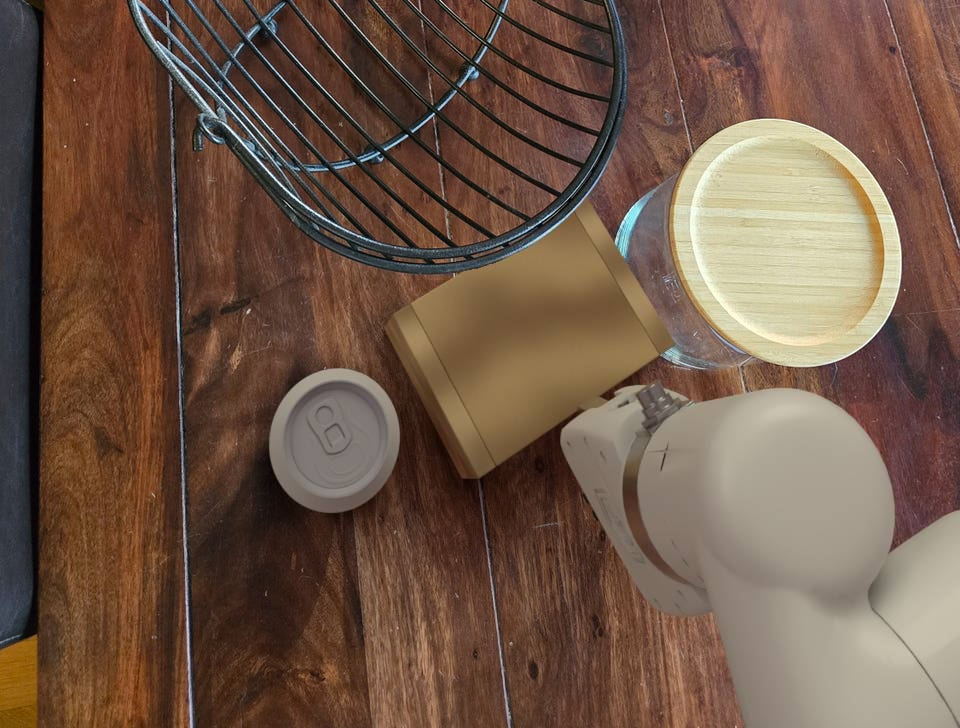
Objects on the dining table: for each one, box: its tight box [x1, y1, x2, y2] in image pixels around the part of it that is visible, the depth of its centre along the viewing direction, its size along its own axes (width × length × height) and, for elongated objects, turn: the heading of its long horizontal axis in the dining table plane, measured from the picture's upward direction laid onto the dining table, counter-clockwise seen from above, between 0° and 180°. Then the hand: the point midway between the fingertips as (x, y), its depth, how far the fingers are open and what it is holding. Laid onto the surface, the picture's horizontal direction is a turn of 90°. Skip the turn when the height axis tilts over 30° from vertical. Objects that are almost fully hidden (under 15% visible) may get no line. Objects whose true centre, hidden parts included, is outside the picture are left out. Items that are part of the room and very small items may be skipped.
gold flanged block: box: [383, 197, 676, 480], centre depth 71 cm, size 10×14×7 cm
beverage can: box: [268, 367, 401, 514], centre depth 65 cm, size 7×7×12 cm
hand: (609, 491), depth 68 cm, fingers closed
